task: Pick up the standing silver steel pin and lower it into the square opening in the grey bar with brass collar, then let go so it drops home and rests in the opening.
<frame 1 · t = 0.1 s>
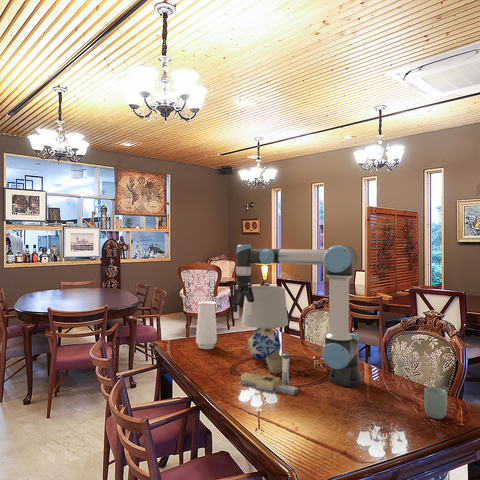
hand: (242, 316, 195), 28 cm above the table, fingers open, 13 cm apart
vase: (206, 347, 241), on the table
bar with brass collar: (268, 387, 172), on the table
table lamp: (264, 356, 222), on the table
pin: (285, 384, 177), on the table
cup 2: (435, 417, 145), on the table
flower pot: (275, 372, 195), on the table
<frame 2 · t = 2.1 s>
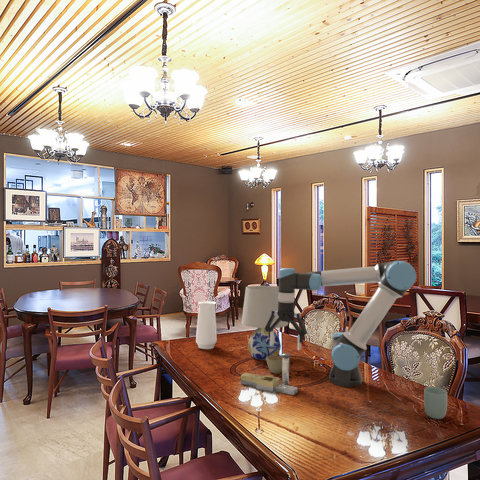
hand: (285, 347, 177), 17 cm above the table, fingers open, 13 cm apart
nothing on the table moved.
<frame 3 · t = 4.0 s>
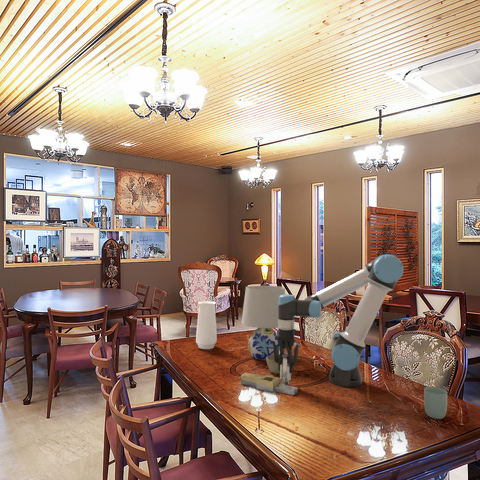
hand: (285, 378, 177), 3 cm above the table, fingers closed on pin, 3 cm apart
pin: (285, 384, 177), on the table, touching gripper
everything else where it was.
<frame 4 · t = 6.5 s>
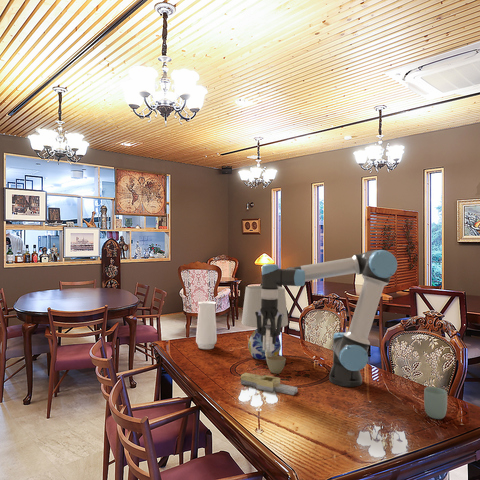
hand: (268, 350, 173), 17 cm above the table, fingers closed on pin, 3 cm apart
pin: (268, 356, 173), point 14 cm above the table, touching gripper
everything else where it was.
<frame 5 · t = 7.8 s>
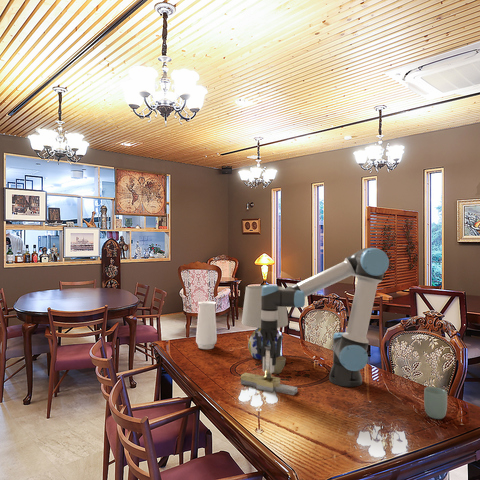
hand: (268, 371, 173), 7 cm above the table, fingers closed on pin, 3 cm apart
pin: (268, 377, 173), point 5 cm above the table, touching gripper
everything else where it was.
when the fingers open (5 cm above the table, at t = 8.8 s): pin drops 2 cm, resting in bar with brass collar.
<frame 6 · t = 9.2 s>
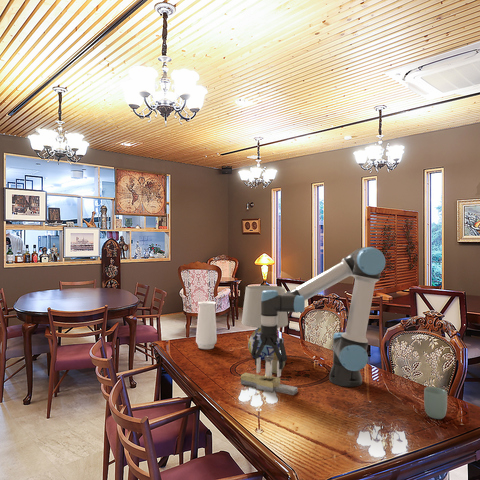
hand: (268, 374, 172), 6 cm above the table, fingers open, 9 cm apart
pin: (268, 387, 172), resting in bar with brass collar
everything else where it was.
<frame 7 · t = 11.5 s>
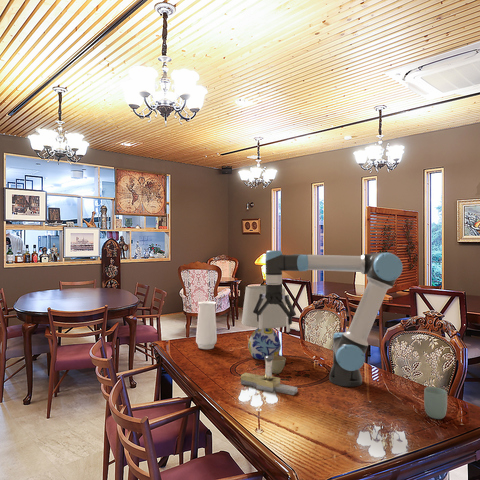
hand: (274, 330, 175), 25 cm above the table, fingers open, 13 cm apart
nothing on the table moved.
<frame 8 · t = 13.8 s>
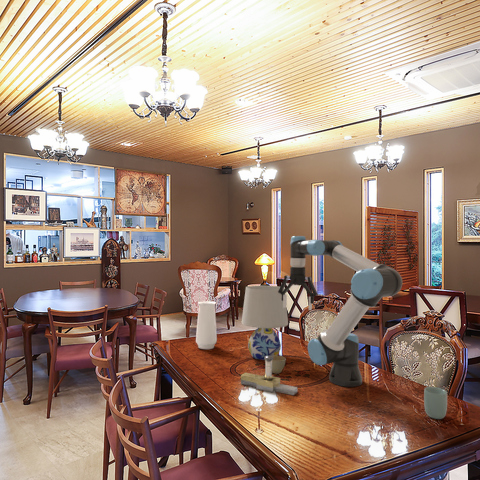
hand: (297, 308, 193), 33 cm above the table, fingers open, 13 cm apart
nothing on the table moved.
at the end: pin 0.0 cm off-centre on the bar with brass collar, point 0.0 cm above the bar with brass collar's base; pin tilted 0°; the gripper is holding nothing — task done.
